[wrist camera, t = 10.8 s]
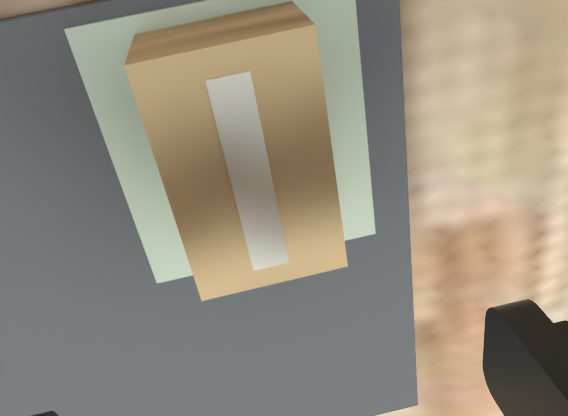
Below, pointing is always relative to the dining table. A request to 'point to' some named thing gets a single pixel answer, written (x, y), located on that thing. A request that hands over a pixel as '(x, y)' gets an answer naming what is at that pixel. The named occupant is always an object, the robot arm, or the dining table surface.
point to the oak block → (242, 145)
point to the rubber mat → (167, 242)
